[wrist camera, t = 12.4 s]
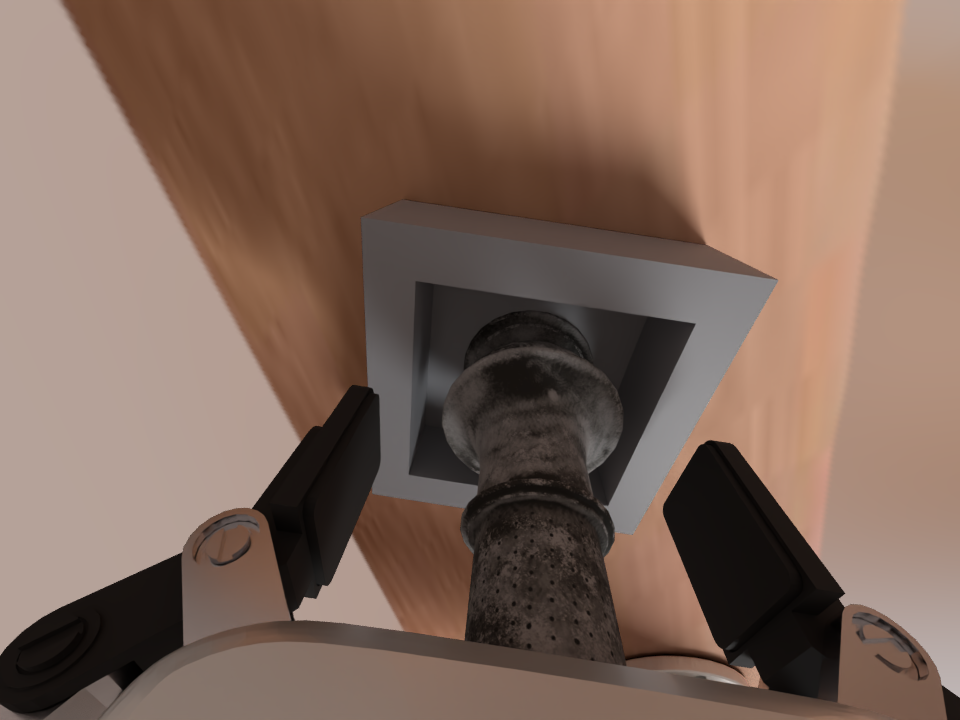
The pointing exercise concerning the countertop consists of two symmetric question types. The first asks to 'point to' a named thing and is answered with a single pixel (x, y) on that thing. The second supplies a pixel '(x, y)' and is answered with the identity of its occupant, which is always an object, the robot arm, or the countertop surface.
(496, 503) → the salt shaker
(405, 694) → the robot arm
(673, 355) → the holder
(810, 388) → the countertop surface
